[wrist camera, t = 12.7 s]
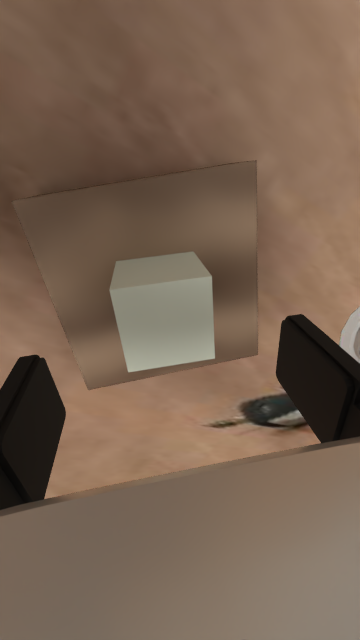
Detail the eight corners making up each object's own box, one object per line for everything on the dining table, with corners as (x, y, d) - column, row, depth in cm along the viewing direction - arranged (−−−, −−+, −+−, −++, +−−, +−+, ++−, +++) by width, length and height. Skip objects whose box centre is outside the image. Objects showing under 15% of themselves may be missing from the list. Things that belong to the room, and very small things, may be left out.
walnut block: (39, 195, 20) (11, 200, 15) (230, 163, 20) (256, 160, 16) (96, 354, 26) (88, 390, 22) (238, 325, 27) (258, 354, 23)
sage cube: (116, 261, 18) (109, 289, 13) (193, 251, 18) (211, 276, 14) (129, 329, 20) (128, 372, 16) (197, 318, 20) (215, 358, 16)
